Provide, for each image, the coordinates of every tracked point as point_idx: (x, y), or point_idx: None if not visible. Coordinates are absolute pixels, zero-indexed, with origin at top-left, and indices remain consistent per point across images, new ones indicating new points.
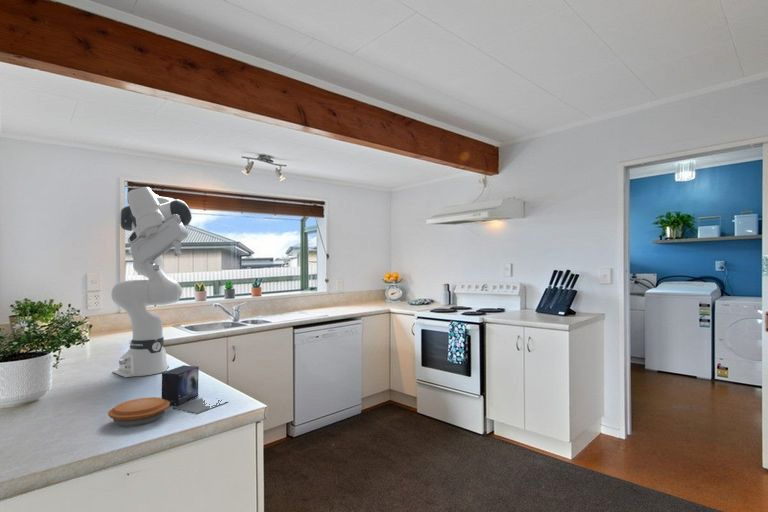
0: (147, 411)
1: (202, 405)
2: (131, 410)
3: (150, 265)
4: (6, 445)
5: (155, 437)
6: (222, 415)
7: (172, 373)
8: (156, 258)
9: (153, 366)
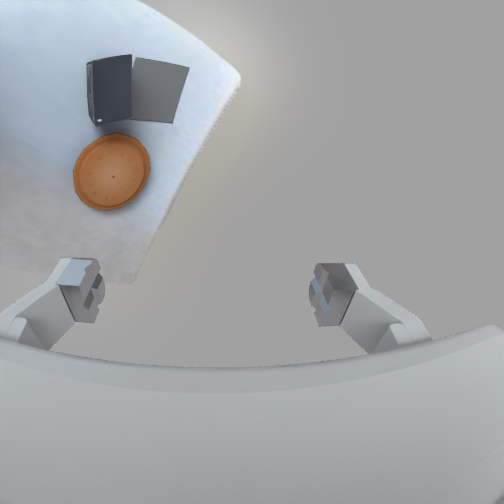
0: (141, 182)
1: (160, 94)
2: (126, 196)
3: (57, 330)
4: None
5: (174, 192)
6: (208, 115)
7: (119, 119)
8: (27, 346)
9: None
